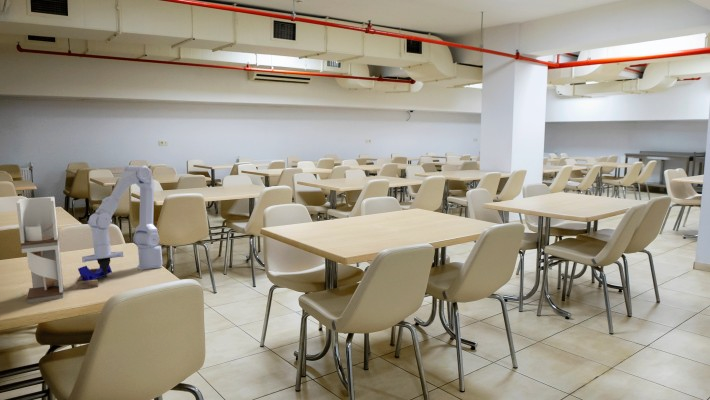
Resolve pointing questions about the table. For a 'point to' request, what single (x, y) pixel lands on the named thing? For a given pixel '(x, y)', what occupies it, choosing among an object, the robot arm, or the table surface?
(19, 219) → the display case
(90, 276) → the cable clip
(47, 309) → the table surface
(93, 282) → the frame
